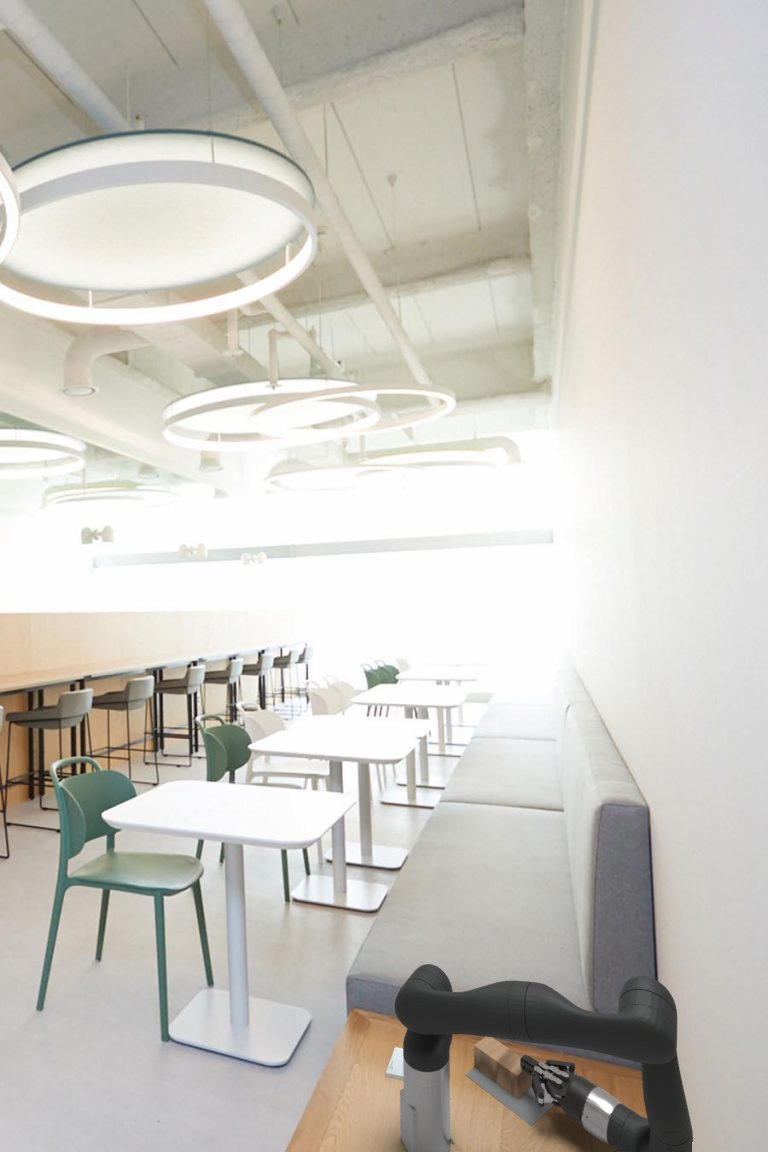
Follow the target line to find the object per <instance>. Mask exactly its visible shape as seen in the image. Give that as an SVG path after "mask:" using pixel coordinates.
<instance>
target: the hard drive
mask: <svg viewBox="0 0 768 1152" xmlns="http://www.w3.org/2000/svg"><path fill="white" fill-rule="evenodd" d="M385 1077H386V1078H390V1079H396V1080H400V1081H404V1078H403V1047H397V1046H396V1047H394V1049H393V1052H392V1055H391V1057H390V1059H389V1062H388V1065H387V1068H386V1071H385Z"/></svg>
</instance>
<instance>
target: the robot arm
mask: <svg viewBox="0 0 768 1152" xmlns="http://www.w3.org/2000/svg"><path fill="white" fill-rule="evenodd" d="M394 1011H395V1012H394V1013H395V1015H396V1017H397V1019H398V1020H399V1022H400V1023H401V1024H402V1025H403V1026H404V1027H405V1028H406V1031H405V1034H404V1036H403V1042H402V1049H403V1078H404V1080H403V1088H401V1089H399V1115H400V1116H399V1117H400V1118H399V1120H400V1121H399V1123H400V1124H399V1125H400V1127H399V1128H400V1132H399V1134H400V1139H401V1141H402V1143H403V1146H404V1148H405V1150H406V1152H449V1151H450V1148H451V1139H452V1137H451V1134H452V1130H451V1084H450V1083H451V1081H450V1080H451V1075H450V1074H451V1072H450V1071H451V1069H450V1068H451V1063H450V1061H451V1059H450V1057H451V1056H450V1054H451V1053H450V1051H451V1044H452V1042H453V1035H468V1036H475V1037H483V1038H485V1037H492V1038H494V1039H495V1038H496V1039H503V1040H509V1041H515V1042H522V1043H523V1042H525V1043H531V1044H541V1045H542V1044H543V1045H551V1046H560V1047H567V1048H572V1049H579V1050H584V1051H591V1052H595V1053H598V1054H603V1055H608V1056H610V1057H611V1056H613V1057H615V1058H619V1059H623V1060H628V1061H632V1062H636V1063H640V1067H641V1069H640V1071H641V1083H642V1094H643V1102H644V1108H645V1113H646V1117H644V1116H641V1115H640V1114H638V1113H637V1112H636V1111H634V1110H633V1109H630V1108H629V1107H628V1106H626V1105H624V1104H623V1102H620V1101H619V1100H618V1099H617V1098H615V1097H614V1096H613V1095H612V1094H611V1093H609V1092H608V1091H606V1090H604V1089H603V1088H601V1087H600V1086H598V1085H596V1084H595V1083H593V1082H592V1081H590V1080H589V1079H587V1078H586V1077H584V1076H583V1075H577V1074H576V1064H575V1063H574V1062H571V1061H570V1062H569V1061H562V1060H555V1059H546V1061H545V1062H542V1061H538V1060H536V1059H535V1058H534V1057H532V1056H529V1055H527V1054H524V1055H522V1056H520V1057H521V1058H520V1066H521V1068H522V1070H524V1071H525V1072H527V1073H528V1074H529V1075H531V1079H532V1083H531V1086H532V1089H533V1092H534V1094H535V1097H536V1100H537V1103H538V1105H539V1106H540V1107H544V1103H548V1102H552V1104H553V1107H556V1108H557V1107H558V1108H560V1109H562V1110H563V1112H564V1113H565V1115H566V1116H567V1118H569V1119H570V1120H571V1121H573V1123H575V1124H577V1125H578V1126H579V1127H581V1128H582V1129H584V1130H585V1131H587V1132H588V1133H589V1134H591V1135H592V1136H594V1137H595V1138H597V1139H598V1140H600V1141H601V1142H604V1143H605V1144H607V1145H609V1146H610V1147H612V1148H613V1149H614V1150H616V1151H618V1152H692V1142H693V1138H694V1132H693V1125H692V1121H691V1116H690V1111H689V1106H688V1103H687V1097H686V1094H685V1089H684V1084H683V1080H682V1074H681V1069H680V1065H679V1059H678V1058H679V1057H678V1051H677V1050H678V1047H677V1046H678V1009H677V1006H676V1002H675V999H674V997H673V995H672V994H671V992H670V991H669V990H668V988H667V987H666V986H665V985H664V984H662V982H660V981H658V980H657V979H655V978H652V977H650V976H649V977H648V976H645V975H639V976H634V977H633V976H632V977H630V978H629V979H627V980H626V982H625V983H624V984H623V985H622V989H621V991H620V994H619V1000H618V1009H617V1013H602V1012H598V1011H589V1010H586V1009H583V1008H582V1007H580V1006H578V1005H576V1004H574V1003H573V1002H572V1001H571V1000H569V999H568V998H567V997H565V996H564V995H563V994H562V993H560V992H558V991H557V990H555V989H554V988H553V987H551V986H548V985H547V984H545V983H542V982H537V981H529V980H527V981H526V980H525V981H524V980H502V981H496V982H494V983H490V984H486V985H482V986H479V987H477V988H472V989H470V990H465V991H453V987H452V983H451V981H450V978H449V977H448V976H447V974H446V972H445V971H444V970H443V969H441V967H439V966H436V964H431V963H427V964H422V965H420V966H417V968H416V969H415V970H414V971H413V972H412V974H411V975H409V977H408V978H407V979H406V981H405V982H404V983H403V984H402V986H401V987H400V989H399V991H398V992H397V995H396V996H395V1001H394Z"/></svg>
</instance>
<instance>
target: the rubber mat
mask: <svg viewBox="0 0 768 1152" xmlns="http://www.w3.org/2000/svg"><path fill="white" fill-rule="evenodd" d="M464 1075H465V1077H467V1078H468V1079H470V1080H471V1081H472V1082H474V1083H475V1084H476V1085H477V1086H478V1087H480V1088H481V1089H482V1090H484V1091H485V1092H486V1093H487V1094H489V1095H490V1096H491V1097H493V1098H494V1099H496V1100H497V1101H498V1102H499V1103H501V1104H502V1105H503V1106H504V1107H506V1108H507V1109H508V1110H510V1111H511V1112H513V1113H514V1114H515V1115H516V1116H518V1117H519V1118H521V1119H522V1120H523V1121H524V1122H525V1123H527V1124H528V1125H529V1126H531V1127H533V1126H534V1124H535V1123H537V1122H538V1121H539V1120H540V1119H541V1118H542V1117H543V1116H544V1115H545V1114H546V1113H547V1112H548V1111H550V1110H551V1109H552V1107H554V1105H553V1104H552V1102H548V1103H544V1107H540V1106H539V1105H538V1103H537V1100H536V1097H535V1094H534V1092H533V1089H532V1087H531V1088H530V1089H528V1090H527V1091H526V1092H525V1093H524V1094H523V1095H522V1096H520V1097H519V1098H518V1099H516V1098H515V1097H514V1096H512V1095H511V1094H510V1093H508V1092H507V1091H506V1090H504V1089H503V1088H502V1087H500V1086H499V1085H498V1084H496V1083H495V1082H493V1081H492V1080H491V1079H489V1078H488V1077H487V1076H485V1075H484V1074H483V1073H481V1072H480V1071H479V1070H477V1069H476V1068H475V1067H474V1066H473V1068H472V1069H471V1070H469V1071H467V1073H465V1074H464ZM531 1083H532V1078H531Z"/></svg>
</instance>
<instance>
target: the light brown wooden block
mask: <svg viewBox="0 0 768 1152" xmlns="http://www.w3.org/2000/svg"><path fill="white" fill-rule="evenodd" d="M473 1057H474V1058H473V1061H474V1062H473V1063H474V1064H473V1065H474V1066H473V1068H474V1067H475V1068H476V1069H477V1070H479V1071H480V1072H481V1073H483V1074H484V1075H485V1076H487V1077H488V1078H489V1079H491V1080H492V1081H493V1082H495V1083H496V1084H498V1085H499V1086H500V1087H502V1088H503V1089H504V1090H506V1091H507V1092H508V1093H510V1094H511V1095H512V1096H514V1097H515V1098H516V1099H518V1098H519V1097H520V1096H522V1095H523V1094H524V1093H525V1092H526V1091H527V1090H528V1089H530V1088H531V1087H532V1086H531V1079H532V1077H531V1075H529V1074H528V1073H527V1072H525V1071H524V1070H522V1068H521V1066H520V1058H521V1057H522V1056H521V1055H520V1054H517V1053H516V1052H514V1051H513V1050H512V1049H510V1048H509V1047H508V1046H505V1045H504V1044H502V1043H501V1042H500V1041H498V1040H497V1039H495V1038H493V1037H483V1038H482V1039H480V1040H479V1041H478V1042H476V1043H475V1044H474V1045H473Z"/></svg>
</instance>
